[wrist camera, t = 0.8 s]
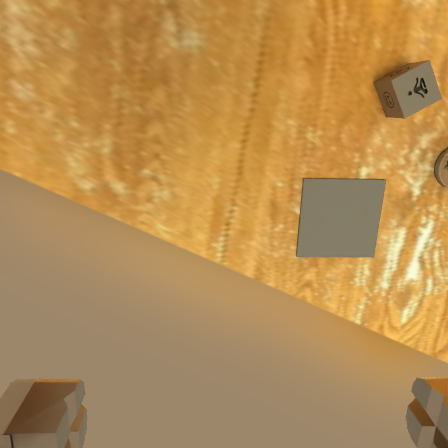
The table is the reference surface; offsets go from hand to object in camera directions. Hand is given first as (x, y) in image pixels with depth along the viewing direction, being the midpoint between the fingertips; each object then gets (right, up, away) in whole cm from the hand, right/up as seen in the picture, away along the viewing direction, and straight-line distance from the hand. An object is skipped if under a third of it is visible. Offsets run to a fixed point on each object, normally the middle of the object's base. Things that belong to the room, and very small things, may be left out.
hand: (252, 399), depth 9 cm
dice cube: (+23, +22, +42) cm, 53 cm away
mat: (+16, +5, +47) cm, 50 cm away
